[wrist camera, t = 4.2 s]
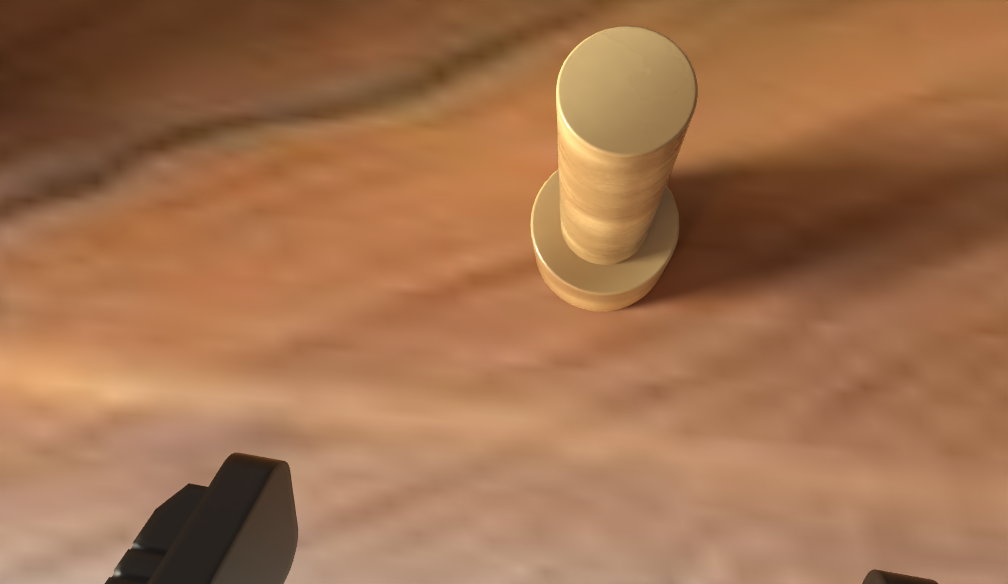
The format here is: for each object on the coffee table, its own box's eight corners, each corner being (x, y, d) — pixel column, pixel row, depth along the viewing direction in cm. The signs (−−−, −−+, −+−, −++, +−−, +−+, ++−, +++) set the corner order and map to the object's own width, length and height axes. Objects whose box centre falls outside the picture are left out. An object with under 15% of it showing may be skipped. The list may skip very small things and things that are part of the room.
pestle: (507, 249, 27) (459, 96, 15) (597, 158, 27) (620, -63, 15) (603, 339, 26) (633, 253, 14) (695, 244, 26) (798, 82, 14)
